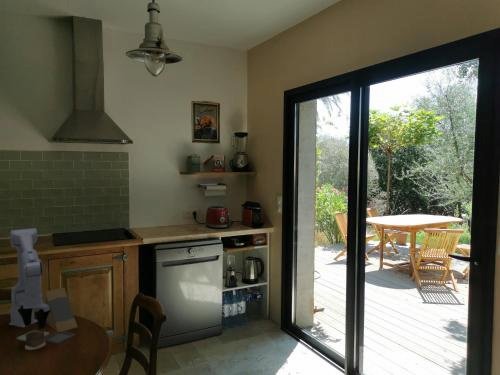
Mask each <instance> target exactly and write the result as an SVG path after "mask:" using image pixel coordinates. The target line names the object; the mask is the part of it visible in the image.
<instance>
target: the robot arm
mask: <svg viewBox="0 0 500 375" xmlns="http://www.w3.org/2000/svg"><path fill="white" fill-rule="evenodd" d="M9 240H10V246H11V247H12V248H15V249H16V251H17V252H16V253H17V254H16V255H17V278H18V279H17V280H18V282H17V283H16V284H15V285H14V286H12V288H11V294H10V298H11V305H12V306H11V307H10V323H8V325H9V326H14V327H20V328H25V327H28V326H31V325H33V324H35V323H37V328H38V330H42V329H43V328H45V327H46V324H47V320H46V319H47V317H48V314H49V313H50V311H51V309H50V306H49V305H47V304H46V302H43V290H42V288H43V287H42V286H43V285H42V276H43V274H44V266H43V263H42V260H41V259H40V258H39V254H38V251H37V250H36V249H34V246H33V245H35V244H36V242H37V241H38V230H37V229H36V228H35V227H33V228H23V229H22V228H21V229H11V230H10V231H9ZM35 310H38V311H35ZM35 318H36V319H35Z"/></svg>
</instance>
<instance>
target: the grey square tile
mask: <svg viewBox="0 0 500 375" xmlns="http://www.w3.org/2000/svg"><path fill="white" fill-rule="evenodd" d="M75 336H76V334H75V333H71V332H68V331H59V332H57V331H56V332H54V333H53V334H51V335H50V334H49V335H47V336H45V337H44V341H45V342H47V343H51V344H55V345H59V344H61V343H63V342H65V341H68V340H70V339H72V338H73V337H75Z"/></svg>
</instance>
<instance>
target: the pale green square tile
mask: <svg viewBox="0 0 500 375" xmlns="http://www.w3.org/2000/svg"><path fill="white" fill-rule="evenodd" d="M34 330H35V329H34ZM34 330H31V331H29V332H27V333H30V332H32V331H34ZM27 333H25V334H23V335H22V334H21V335H19V336H17V337H16V340H19V341H23V342H26V334H27ZM48 336H50V332H47V331H44V338H46V337H48Z"/></svg>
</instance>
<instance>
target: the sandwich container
mask: <svg viewBox="0 0 500 375" xmlns="http://www.w3.org/2000/svg"><path fill="white" fill-rule="evenodd" d="M44 294H45V297H44V298H45V304H47V305H49V306H50V309H51V311H50V313H49V314H48V317H47V319H46V324H47V325H48V326H49V327H51V329H52V330H54V331H55V332H56V333H57V332H59V331H63V332H66V331H69V330H72V329H76V328H78V325H77V322H76V319H75V315H74V313H73V311H72V307H71V305H70V301H69V299H68V298H69V297H68V294H67V292H66V288H65V287H61V288H60V287H59V288H56V289H51V290H47V291H45V292H44Z"/></svg>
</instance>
